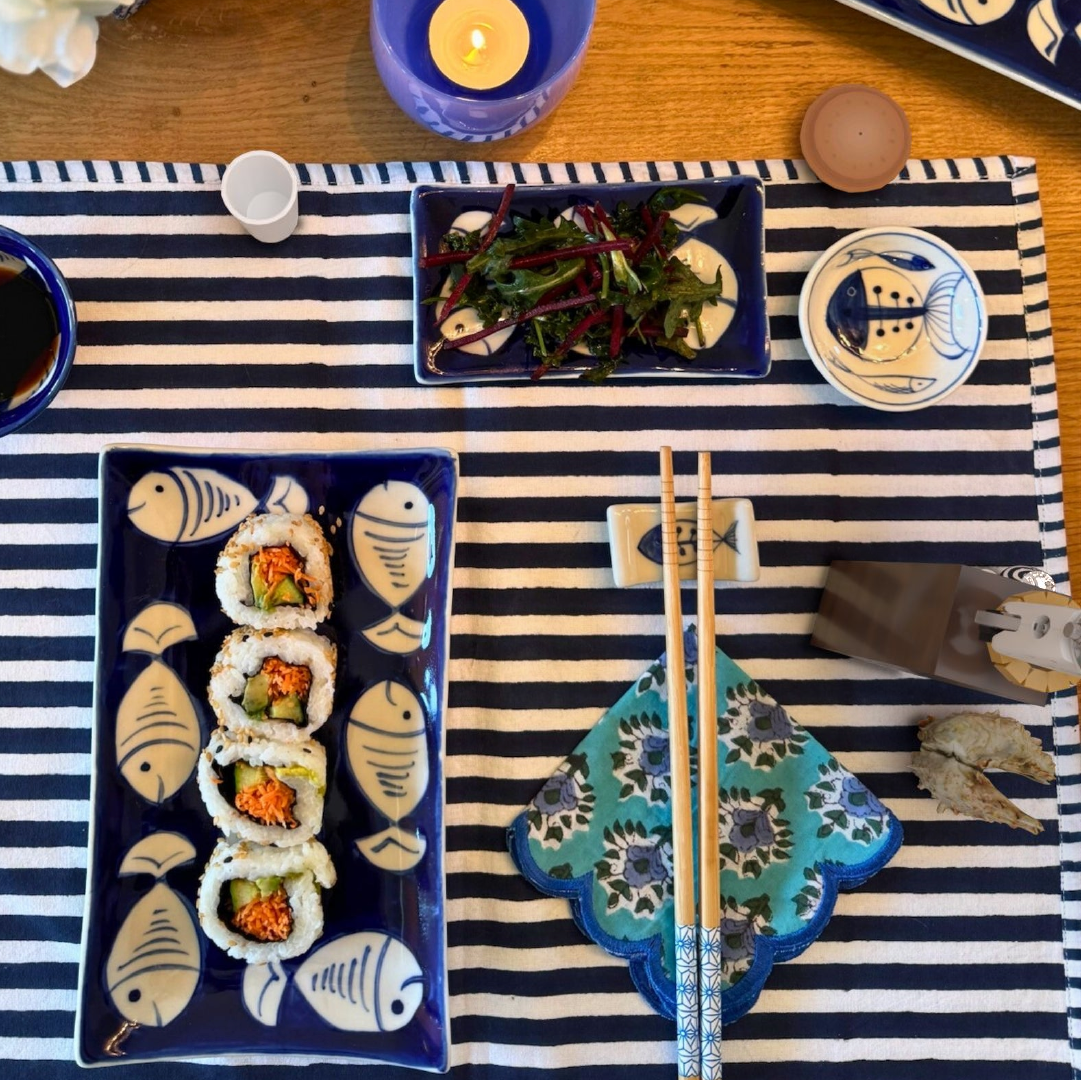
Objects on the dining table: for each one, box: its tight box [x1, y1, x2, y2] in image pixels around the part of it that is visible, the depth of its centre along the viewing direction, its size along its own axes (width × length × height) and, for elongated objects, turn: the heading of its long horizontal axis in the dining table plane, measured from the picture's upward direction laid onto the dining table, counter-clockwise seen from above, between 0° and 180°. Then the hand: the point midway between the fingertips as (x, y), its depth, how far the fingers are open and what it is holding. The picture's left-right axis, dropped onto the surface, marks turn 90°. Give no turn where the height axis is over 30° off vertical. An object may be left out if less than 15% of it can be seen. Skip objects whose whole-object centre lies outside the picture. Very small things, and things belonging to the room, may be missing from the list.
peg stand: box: [809, 559, 1073, 708], centre depth 124 cm, size 12×12×39 cm
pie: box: [798, 83, 913, 194], centre depth 146 cm, size 15×16×5 cm
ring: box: [987, 590, 1081, 694], centre depth 103 cm, size 10×10×2 cm
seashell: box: [906, 708, 1057, 836], centre depth 134 cm, size 18×18×15 cm
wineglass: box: [980, 564, 1057, 592], centre depth 138 cm, size 6×6×12 cm
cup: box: [220, 149, 299, 244], centre depth 141 cm, size 10×10×13 cm
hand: (1000, 629), depth 104 cm, fingers closed on ring, 2 cm apart
